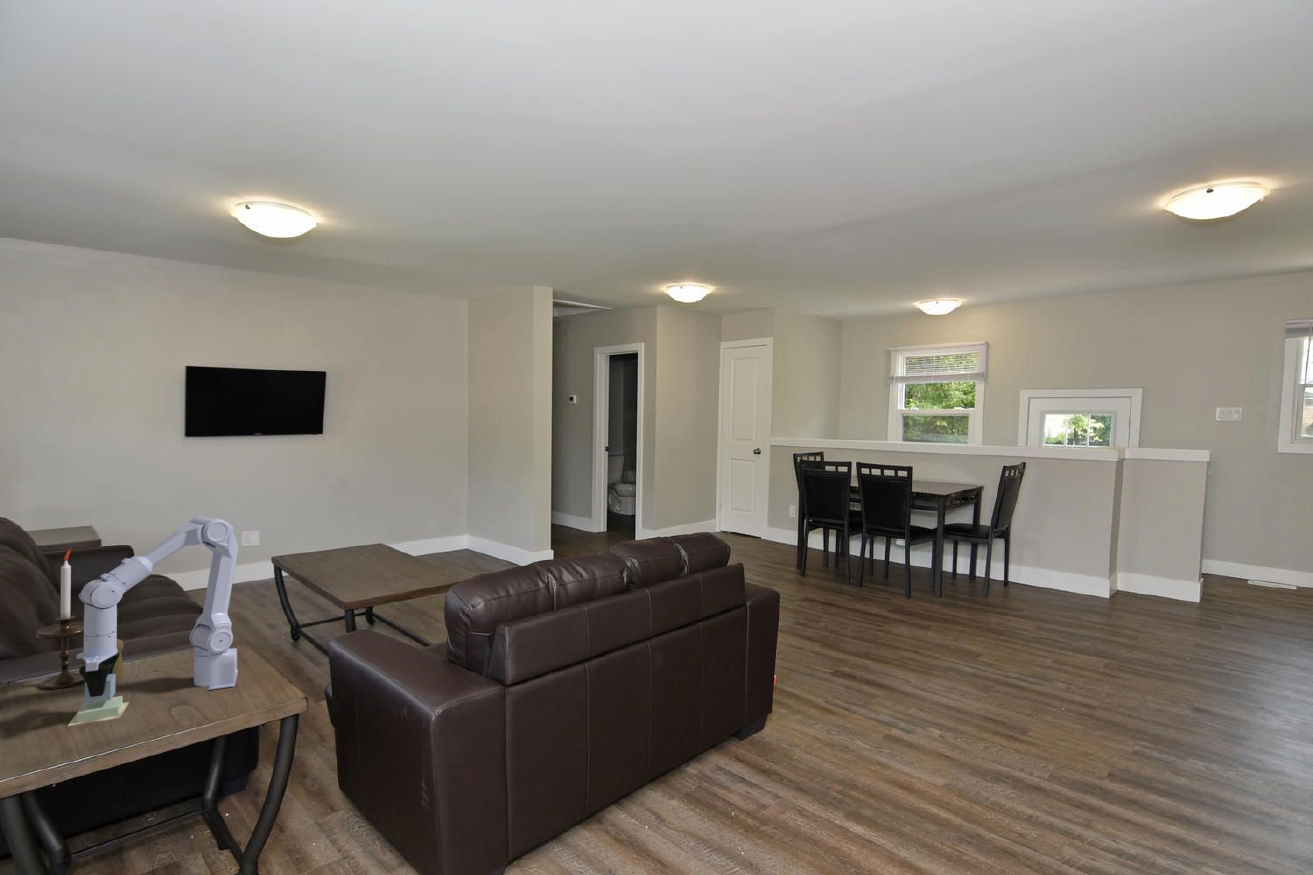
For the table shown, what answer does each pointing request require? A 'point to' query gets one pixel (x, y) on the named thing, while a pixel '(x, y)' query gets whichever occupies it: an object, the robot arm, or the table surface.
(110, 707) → the green block
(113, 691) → the blue cube
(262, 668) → the table surface
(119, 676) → the olive tall rounded piece
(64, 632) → the candlestick
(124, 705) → the birch slab
